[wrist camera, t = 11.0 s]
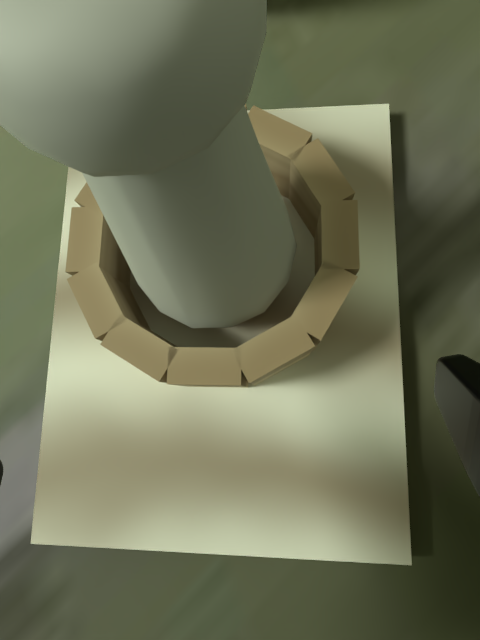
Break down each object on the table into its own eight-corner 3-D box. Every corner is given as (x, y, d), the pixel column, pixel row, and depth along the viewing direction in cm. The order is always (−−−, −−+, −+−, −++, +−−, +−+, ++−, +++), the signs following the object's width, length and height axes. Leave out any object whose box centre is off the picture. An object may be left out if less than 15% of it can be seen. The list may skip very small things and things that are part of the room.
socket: (405, 556, 15) (444, 607, 12) (42, 536, 17) (-27, 576, 13) (384, 116, 19) (410, 45, 15) (81, 129, 20) (36, 68, 16)
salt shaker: (231, 368, 16) (59, 268, 4) (125, 281, 18) (-288, -26, 5) (322, 254, 17) (449, -181, 4) (214, 177, 18) (54, -356, 5)
